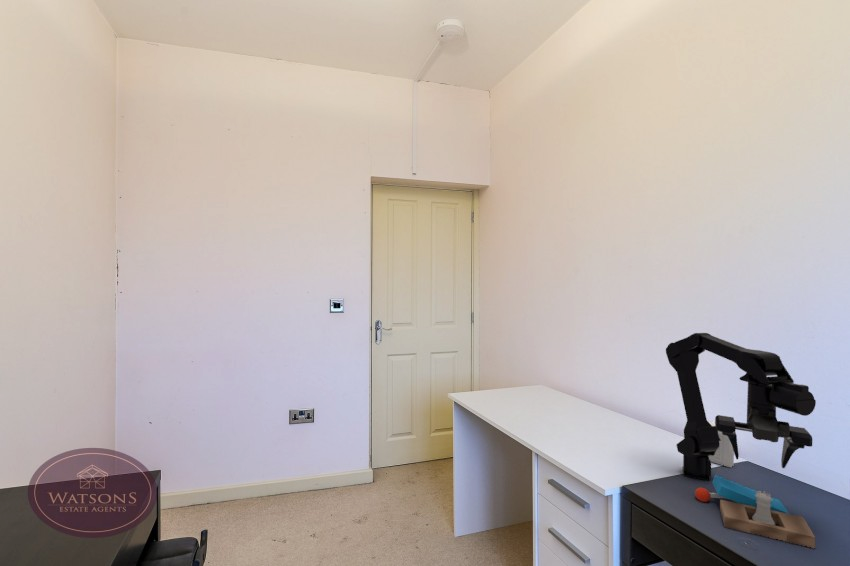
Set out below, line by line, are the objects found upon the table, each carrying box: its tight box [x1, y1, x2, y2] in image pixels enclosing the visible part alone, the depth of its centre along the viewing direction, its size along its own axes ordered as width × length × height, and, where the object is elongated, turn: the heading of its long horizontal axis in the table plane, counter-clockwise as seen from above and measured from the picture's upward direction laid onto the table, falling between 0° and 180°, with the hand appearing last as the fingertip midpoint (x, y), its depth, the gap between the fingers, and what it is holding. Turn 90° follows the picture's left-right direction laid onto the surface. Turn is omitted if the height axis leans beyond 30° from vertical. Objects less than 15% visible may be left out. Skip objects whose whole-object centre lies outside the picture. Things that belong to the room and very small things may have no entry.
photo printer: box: [707, 420, 735, 468], centre depth 135 cm, size 10×4×12 cm, turn 35°
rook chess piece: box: [751, 490, 776, 526], centre depth 99 cm, size 4×4×8 cm
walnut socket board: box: [719, 498, 816, 549], centre depth 98 cm, size 16×9×2 cm, turn 61°
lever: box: [694, 474, 790, 514], centre depth 108 cm, size 7×7×18 cm
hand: (759, 463), depth 106 cm, fingers open, 9 cm apart
